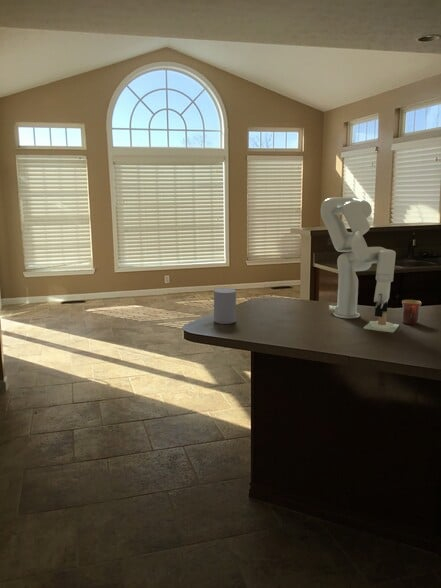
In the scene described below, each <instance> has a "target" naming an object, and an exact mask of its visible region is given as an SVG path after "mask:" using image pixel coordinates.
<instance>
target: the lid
mask: <svg viewBox="0 0 441 588" xmlns="http://www.w3.org/2000/svg"><path fill="white" fill-rule="evenodd" d="M387 315H388V313H387V312H383V313H382V317H378V316H377V320H375V321H373V320H372V321H373V322H371V324H370V326H372V327H374V328H379V329H391V328H393V324H394V323H392V322H389V321H387Z"/></svg>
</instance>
